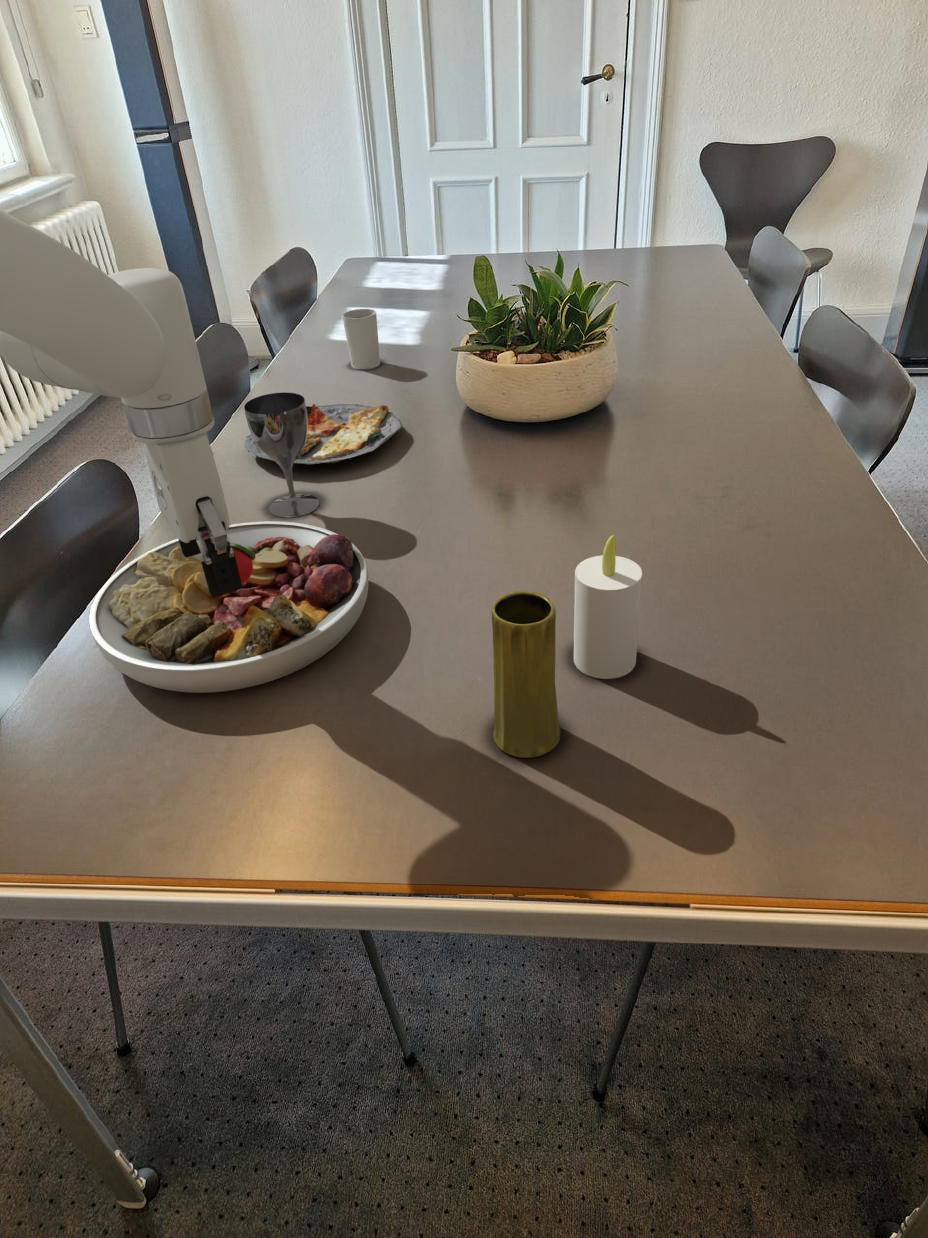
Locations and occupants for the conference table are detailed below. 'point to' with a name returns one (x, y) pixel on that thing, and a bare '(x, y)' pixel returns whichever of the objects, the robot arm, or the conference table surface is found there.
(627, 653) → the candle
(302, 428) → the wine glass
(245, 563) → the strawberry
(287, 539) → the bowl
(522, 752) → the vase
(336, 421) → the food plate
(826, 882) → the conference table surface
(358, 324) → the white cup
